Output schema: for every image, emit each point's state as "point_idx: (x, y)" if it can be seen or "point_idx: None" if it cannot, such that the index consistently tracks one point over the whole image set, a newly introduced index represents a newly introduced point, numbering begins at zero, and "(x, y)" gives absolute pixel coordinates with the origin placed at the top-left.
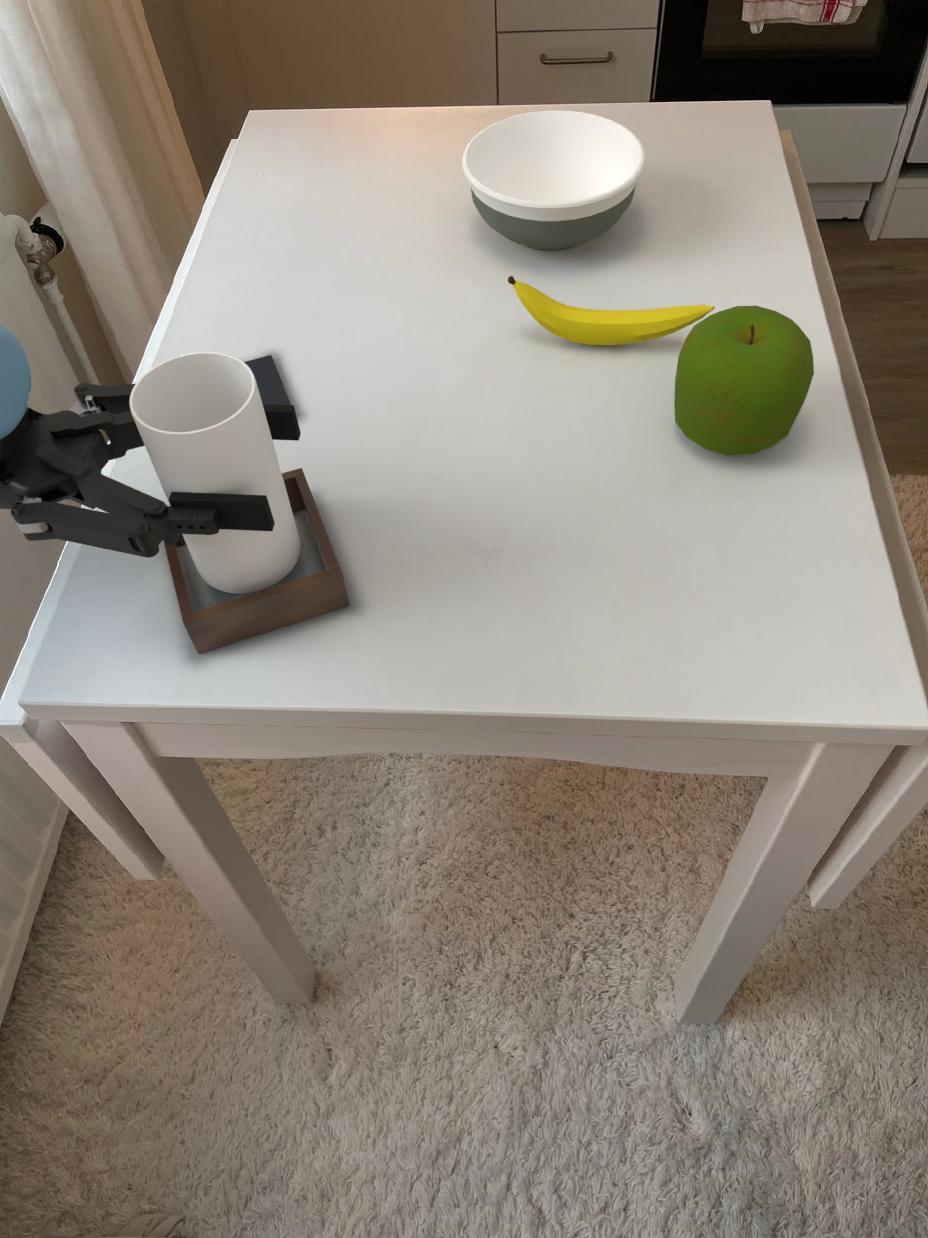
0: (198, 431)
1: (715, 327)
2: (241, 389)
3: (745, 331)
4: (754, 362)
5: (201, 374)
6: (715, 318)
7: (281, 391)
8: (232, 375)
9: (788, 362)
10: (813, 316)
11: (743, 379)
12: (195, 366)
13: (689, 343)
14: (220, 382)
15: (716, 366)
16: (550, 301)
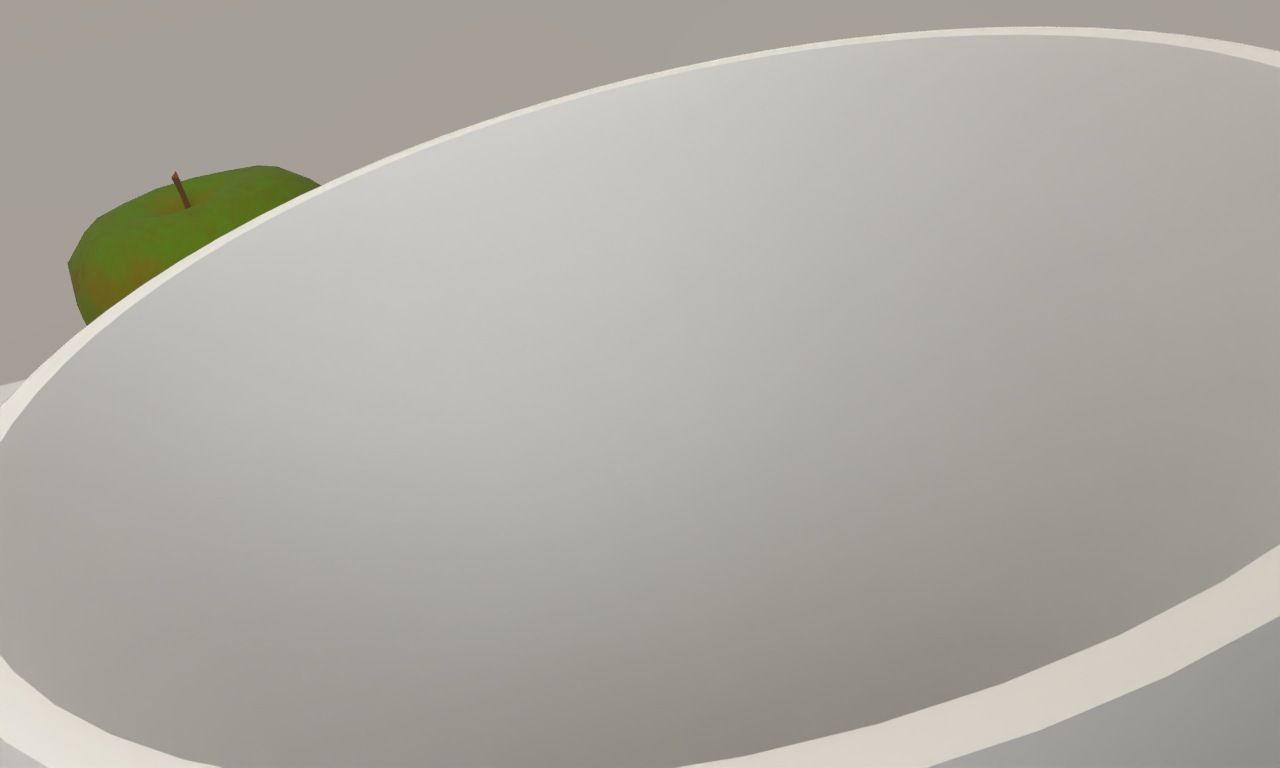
0: (1193, 37)
1: (142, 225)
2: (330, 529)
3: (164, 214)
4: (265, 178)
5: (130, 693)
6: (111, 235)
7: None
8: (243, 469)
9: (273, 166)
10: (21, 383)
11: (296, 194)
12: (72, 623)
13: (156, 265)
14: (218, 653)
15: (252, 214)
16: None
